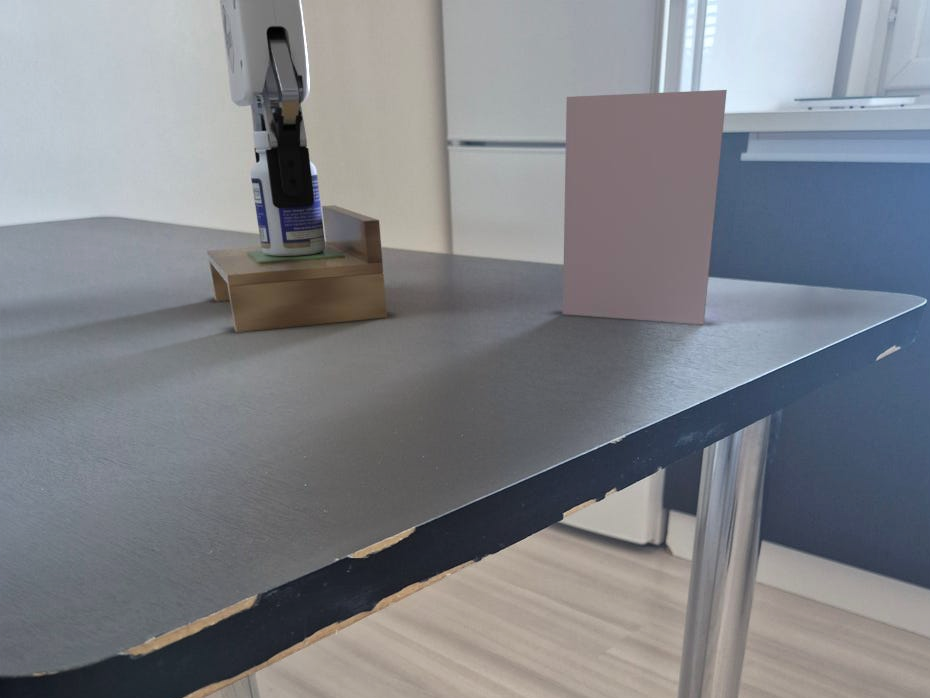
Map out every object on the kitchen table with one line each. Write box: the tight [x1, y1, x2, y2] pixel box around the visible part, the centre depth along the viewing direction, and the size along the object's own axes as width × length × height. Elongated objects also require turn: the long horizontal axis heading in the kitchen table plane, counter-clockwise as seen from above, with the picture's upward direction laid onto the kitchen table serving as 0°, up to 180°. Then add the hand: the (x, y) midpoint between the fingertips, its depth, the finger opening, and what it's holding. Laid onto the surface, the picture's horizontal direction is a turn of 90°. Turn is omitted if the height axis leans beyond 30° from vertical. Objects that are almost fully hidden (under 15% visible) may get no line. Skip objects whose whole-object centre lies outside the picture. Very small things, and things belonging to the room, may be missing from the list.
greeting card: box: [562, 89, 728, 325], centre depth 64 cm, size 11×7×15 cm, turn 26°
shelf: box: [206, 204, 388, 333], centre depth 74 cm, size 12×16×7 cm
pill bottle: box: [250, 131, 326, 256], centre depth 71 cm, size 5×5×9 cm
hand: (287, 201), depth 71 cm, fingers closed on pill bottle, 5 cm apart
